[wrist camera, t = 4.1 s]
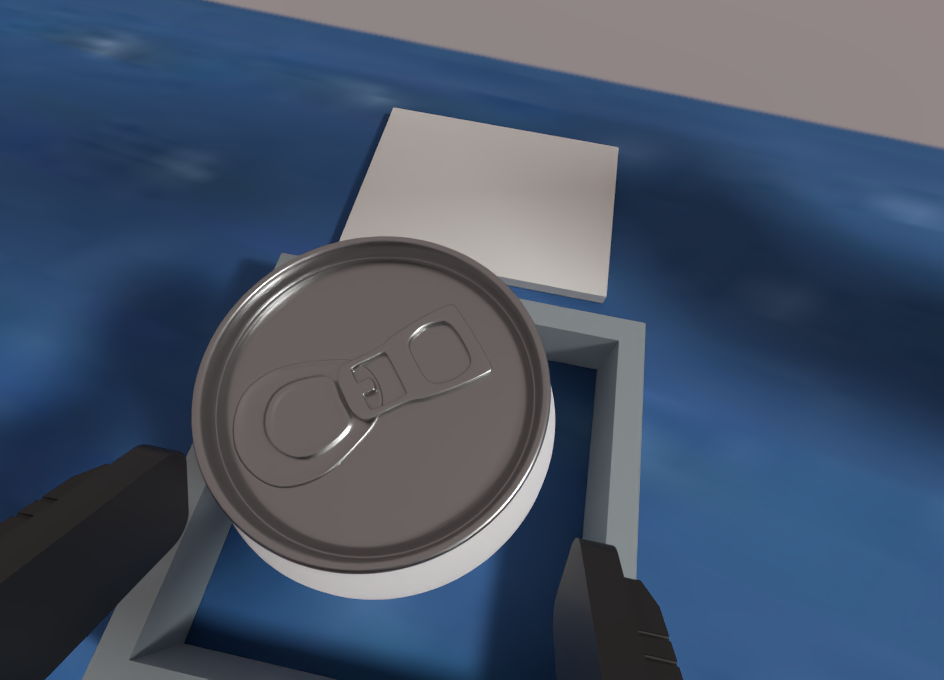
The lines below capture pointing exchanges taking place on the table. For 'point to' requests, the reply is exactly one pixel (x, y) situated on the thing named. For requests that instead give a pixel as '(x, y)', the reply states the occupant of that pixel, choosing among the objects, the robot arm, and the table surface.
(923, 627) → the table surface
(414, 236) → the mat
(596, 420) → the grey square frame
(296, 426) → the can
